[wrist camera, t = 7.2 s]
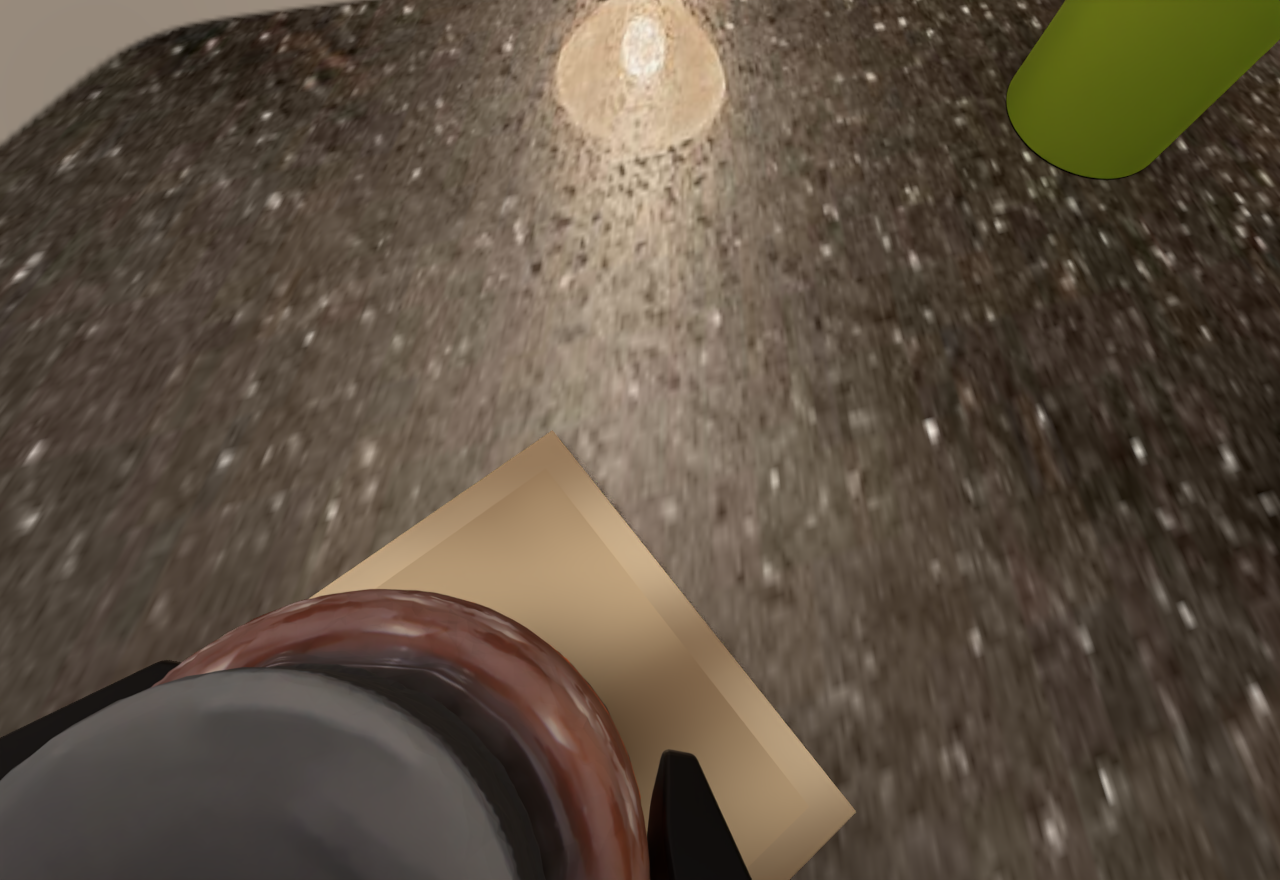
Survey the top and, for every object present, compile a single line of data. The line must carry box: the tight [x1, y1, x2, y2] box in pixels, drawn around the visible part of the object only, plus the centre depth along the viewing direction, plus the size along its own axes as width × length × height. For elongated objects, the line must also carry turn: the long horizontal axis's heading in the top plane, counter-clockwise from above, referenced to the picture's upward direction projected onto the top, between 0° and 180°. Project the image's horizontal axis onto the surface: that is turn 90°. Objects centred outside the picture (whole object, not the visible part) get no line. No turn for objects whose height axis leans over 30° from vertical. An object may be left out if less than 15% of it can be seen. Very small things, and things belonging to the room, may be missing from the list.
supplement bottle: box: [0, 589, 650, 880], centre depth 9 cm, size 6×6×11 cm
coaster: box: [309, 430, 856, 880], centre depth 16 cm, size 12×12×1 cm
